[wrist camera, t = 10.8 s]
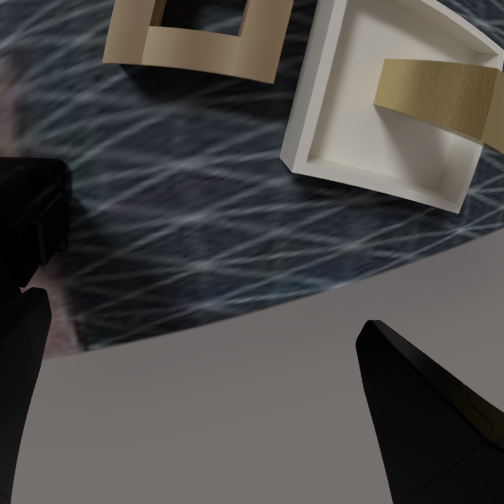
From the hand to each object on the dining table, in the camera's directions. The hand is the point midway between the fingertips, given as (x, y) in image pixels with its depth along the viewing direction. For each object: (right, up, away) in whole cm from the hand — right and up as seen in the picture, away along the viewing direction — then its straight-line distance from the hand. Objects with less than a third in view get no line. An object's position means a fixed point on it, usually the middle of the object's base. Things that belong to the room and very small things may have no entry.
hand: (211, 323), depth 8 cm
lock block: (-1, +15, +5) cm, 16 cm away
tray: (+10, +12, +9) cm, 18 cm away
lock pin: (+10, +12, +8) cm, 17 cm away
